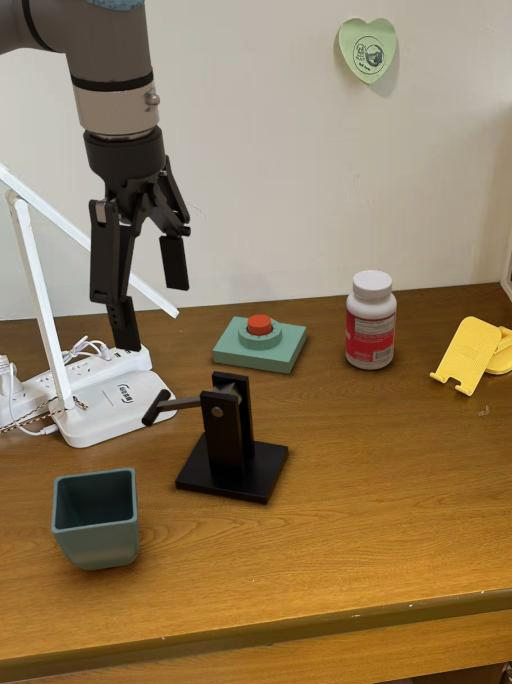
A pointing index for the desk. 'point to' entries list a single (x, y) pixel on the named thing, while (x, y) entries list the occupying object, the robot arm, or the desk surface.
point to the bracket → (231, 448)
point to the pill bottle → (370, 320)
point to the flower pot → (97, 518)
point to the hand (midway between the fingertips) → (154, 317)
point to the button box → (260, 346)
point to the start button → (259, 325)
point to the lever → (182, 402)
